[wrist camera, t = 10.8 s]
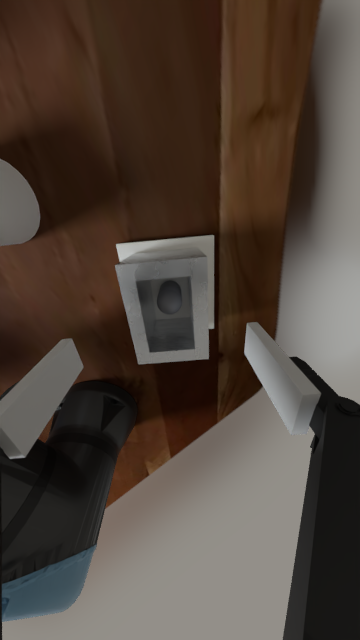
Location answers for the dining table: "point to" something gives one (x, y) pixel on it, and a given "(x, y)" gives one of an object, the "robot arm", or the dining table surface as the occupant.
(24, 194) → the cylinder with rectangular tab
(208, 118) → the dining table surface
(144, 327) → the steel link
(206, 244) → the keeper board
